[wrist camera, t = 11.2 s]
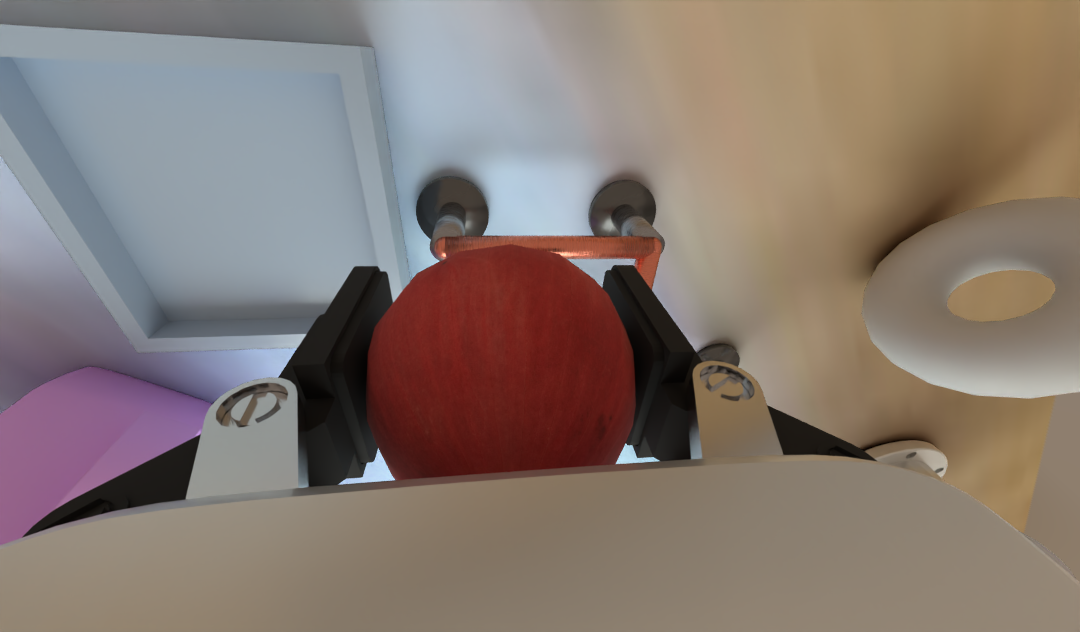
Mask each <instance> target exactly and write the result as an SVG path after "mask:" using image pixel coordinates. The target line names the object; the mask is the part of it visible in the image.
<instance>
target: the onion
mask: <svg viewBox="0 0 1080 632" xmlns="http://www.w3.org/2000/svg"><path fill="white" fill-rule="evenodd" d="M635 407H636V396H635V370H634V355H633V349H632V346H631V343H630V340H629V338H628V335H627V332H626V329H625V327H624V325H623V323H622V321H621V319H620V317H619V315H618V313H617V311H616V309H615V307H614V305H613V303H612V301H611V299H610V297H609V295H608V294H607V293H606V292H605V290H604V289H603V288H602V287H601V286H600V285H599V284H598V283H597V282H596V281H595V280H594V279H593V278H592V277H590V276H589V275H587V274H586V273H585V272H583V271H582V270H581V269H579V268H578V267H577V266H575V265H574V264H573V263H571V262H570V261H568V260H567V259H566V258H564V257H563V256H562V255H560V254H557V253H552V252H547V251H542V250H538V249H533V248H528V247H523V246H518V245H513V244H508V245H501V246H494V247H487V248H479V249H472V250H465V251H459V252H457V253H455V254H453V255H452V256H450V257H448V258H446V259H444V260H442V261H440V262H438V263H436V264H434V265H432V266H430V267H429V268H427V269H425V270H423V271H421V272H419V273H417V274H416V276H415V277H414V278H413V279H412V280H411V281H410V283H409V284H408V285H407V286H406V287H405V288H404V289H403V291H402V292H401V293H400V295H399V296H398V297H397V299H396V300H395V301H394V302H393V304H392V305H391V306H390V308H389V309H388V310H387V312H386V313H385V314H384V316H383V317H382V318H381V319H380V321H379V322H378V323H377V325H376V326H375V328H374V332H373V336H372V339H371V343H370V347H369V351H368V362H367V381H366V410H367V421H368V424H369V427H370V429H371V432H372V434H373V437H374V439H375V442H376V444H377V446H378V448H379V450H380V452H381V454H382V456H383V458H384V460H385V462H386V464H387V466H388V468H389V470H390V472H391V474H392V476H393V477H394V479H395V480H407V479H420V478H433V477H446V476H460V475H473V474H487V473H501V472H514V471H528V470H542V469H556V468H570V467H585V466H599V465H614V464H616V462H617V460H618V458H619V455H620V453H621V451H622V449H623V447H624V445H625V443H626V441H627V438H628V436H629V433H630V431H631V428H632V426H633V421H634V414H635Z"/></svg>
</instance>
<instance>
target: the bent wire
mask: <svg viewBox="0 0 1080 632" xmlns="http://www.w3.org/2000/svg"><path fill="white" fill-rule="evenodd" d="M655 214H656V204H655V200H654V198H653V196H652V194H651V193H650V192H649V190H648V189H646V188H645V187H644V186H643V185H641V184H640V183H638V182H635V181H631V180H621V181H616V182H613V183H611V184H609V185H607V186H606V187H604V188H603V189H602V190H601V191H600V192H599V193H598V194H597V195H596V197H595V198H594V200H593V202H592V204H591V207H590V210H589V224H590V228H591V230H592V232H593V234H594V235H595V236H482V235H483V233H484V232H485V230H486V228H487V225H488V218H489V212H488V206H487V202H486V199H485V198H484V196H483V194H482V193H481V191H480V190H479V189H478V188H477V187H476V186H475V185H474V184H472V183H471V182H469V181H467V180H465V179H462V178H459V177H452V176H449V177H441V178H438V179H436V180H434V181H432V182H430V183H429V184H428V185H427V186H426V187H425V188H424V189H423V191H422V192H421V194H420V196H419V199H418V201H417V206H416V215H417V220H418V223H419V225H420V227H421V229H422V230H423V232H424V233H425V234H426V236H428V237H429V238H430V239H431V242H430V250H431V253H432V255H433V256H434V257H435V258H436V259H438V260H439V261H442V260H444V259H446V258H448V257H450V256H452V255H453V254H455V253H457V252H459V251H465V250H472V249H479V248H487V247H494V246H501V245H508V244H513V245H518V246H523V247H528V248H533V249H538V250H542V251H547V252H552V253H557V254H560V255H562V256H563V257H564V258H566V259H636V261H635V268H636V269H637V270H638V272H639V273H640V275H641V276H642V277H643V279H644V280H645V282H646V283H647V284H648V286H649V287H650V289H651V290H652V286H653V282H654V278H655V274H656V270H657V266H658V262H659V258H660V254H661V253H662V252H663V250H664V246H665V242H664V239H663V237H662V236H661V235H660V234H659V233H658V232H657V231H656V230H655V229H654V228H653V227H652V224H653V222H654V219H655ZM697 354H698V356H699V357H700V358H701V360H702V361H703V362H706V361H719V362H725V363H728V364H732V365H734V366H736V367H738V365H739V361H740V358H739V355H738V353H737V352H736V351H735V350H734V348H733V347H731V346H729V345H726V344H715V345H711V346H708V347H706V348H704V349H702V350H701V351H700V352H698V353H697Z"/></svg>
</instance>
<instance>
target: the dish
mask: <svg viewBox="0 0 1080 632" xmlns="http://www.w3.org/2000/svg"><path fill="white" fill-rule="evenodd" d="M0 155H1V157H2V158H3V160H4V161H5V162H6V164H7V165H8V167H9V168H10V170H11V171H12V173H13V174H14V175H15V177H16V178H17V180H18V181H19V183H20V184H21V186H22V187H23V188H24V190H25V191H26V193H27V194H28V196H29V197H30V199H31V200H32V201H33V203H34V204H35V206H36V207H37V209H38V210H39V212H40V213H41V214H42V216H43V217H44V219H45V220H46V222H47V223H48V225H49V226H50V227H51V229H52V230H53V232H54V233H55V235H56V236H57V238H58V239H59V240H60V242H61V243H62V245H63V246H64V248H65V249H66V251H67V252H68V253H69V255H70V256H71V258H72V259H73V261H74V262H75V264H76V265H77V266H78V268H79V269H80V271H81V272H82V274H83V275H84V277H85V278H86V279H87V281H88V282H89V284H90V285H91V287H92V288H93V290H94V291H95V292H96V294H97V295H98V297H99V298H100V300H101V301H102V303H103V304H104V305H105V307H106V308H107V310H108V311H109V313H110V314H111V316H112V317H113V318H114V320H115V321H116V323H117V324H118V326H119V327H120V329H121V330H122V331H123V333H124V334H125V336H126V337H127V339H128V340H129V342H130V343H131V344H132V346H133V347H134V349H135V350H136V352H137V353H156V352H186V351H216V350H245V349H275V348H298V347H299V345H300V343H301V342H302V340H303V339H304V337H305V336H306V334H307V333H308V331H309V330H310V328H311V327H312V325H313V323H314V322H315V320H316V319H317V318H318V317H319V315H322V314H324V313H325V312H326V310H327V309H328V307H329V306H330V304H331V302H332V301H333V299H334V298H335V296H336V294H337V293H338V291H339V290H340V288H341V287H342V285H343V283H344V282H345V280H346V279H347V277H348V275H349V274H350V272H351V271H352V269H353V268H354V267H355V266H378V267H379V269H380V271H386V272H387V274H388V278H389V283H390V288H391V294H392V299H393V302H394V301H395V300H396V299H397V297H398V296H399V295H400V293H401V292H402V291H403V289H404V288H405V287H406V286H407V285H408V284H409V283H410V275H409V269H408V262H407V256H406V250H405V243H404V237H403V231H402V224H401V218H400V212H399V206H398V199H397V193H396V187H395V180H394V174H393V168H392V161H391V155H390V149H389V142H388V136H387V130H386V123H385V117H384V111H383V104H382V98H381V92H380V85H379V79H378V73H377V66H376V60H375V54H374V47H363V46H348V45H332V44H316V43H299V42H283V41H266V40H250V39H233V38H217V37H201V36H184V35H168V34H151V33H135V32H118V31H102V30H86V29H69V28H53V27H36V26H20V25H3V24H0Z"/></svg>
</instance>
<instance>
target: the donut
mask: <svg viewBox="0 0 1080 632" xmlns="http://www.w3.org/2000/svg"><path fill="white" fill-rule="evenodd" d="M1005 270H1028V271H1033V272H1037V273H1041V274H1043V275H1044V276H1046V277H1048V278H1050V279H1051V280H1052V281H1053V282H1054V284H1055V292H1054V294H1053V296H1052V298H1051V299H1050V300H1049V301H1048V302H1047V303H1046V304H1044V305H1043V306H1042V307H1041V308H1039V309H1037V310H1035V311H1033V312H1031V313H1029V314H1026V315H1024V316H1020V317H1016V318H1012V319H1008V320H1004V321H990V322H979V321H971V320H966V319H964V318H961V317H958V316H956V315H954V314H952V313H951V312H950V310H949V308H948V306H947V300H948V298H949V296H950V294H951V292H953V291H954V290H955V289H956V288H957V287H958V286H959V285H961V284H963V283H965V282H966V281H968V280H970V279H972V278H974V277H977V276H981V275H984V274H987V273H990V272H997V271H1005ZM862 317H863V319H864V322H865V325H866V328H867V330H868V333H869V336H870V338H871V341H872V342H873V343H874V344H875V345H876V346H877V347H878V349H879V350H880V351H881V352H882V353H883V354H884V355H885V356H886V357H887V358H888V359H889V360H890V361H891V362H892V363H893V364H895V365H896V366H898V367H900V368H902V369H904V370H906V371H907V372H909V373H911V374H913V375H915V376H917V377H919V378H920V379H922V380H924V381H926V382H928V383H930V384H933V385H937V386H941V387H945V388H949V389H953V390H956V391H960V392H964V393H968V394H972V395H978V396H996V397H1014V398H1037V397H1045V396H1052V395H1059V394H1067V393H1074V392H1080V199H1078V198H1070V197H1050V198H1035V199H1019V200H1010V201H1006V202H1001V203H997V204H992V205H988V206H983V207H979V208H974V209H970V210H967V211H964V212H962V213H959V214H956V215H954V216H951V217H949V218H946V219H944V220H941V221H939V222H936V223H934V224H931V225H929V226H927V227H926V228H924V229H923V230H921V231H919V232H918V233H916V234H914V235H913V236H911V237H909V238H908V239H906V240H905V241H903V242H901V243H900V244H899V245H898V246H897V247H896V248H895V249H893V250H892V251H891V252H890V253H889V254H888V255H887V256H886V257H885V258H884V259H883V260H882V261H881V262H880V263H879V264H878V266H877V267H876V269H875V271H874V273H873V274H872V276H871V278H870V280H869V282H868V283H867V285H866V287H865V290H864V297H863V306H862Z"/></svg>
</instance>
